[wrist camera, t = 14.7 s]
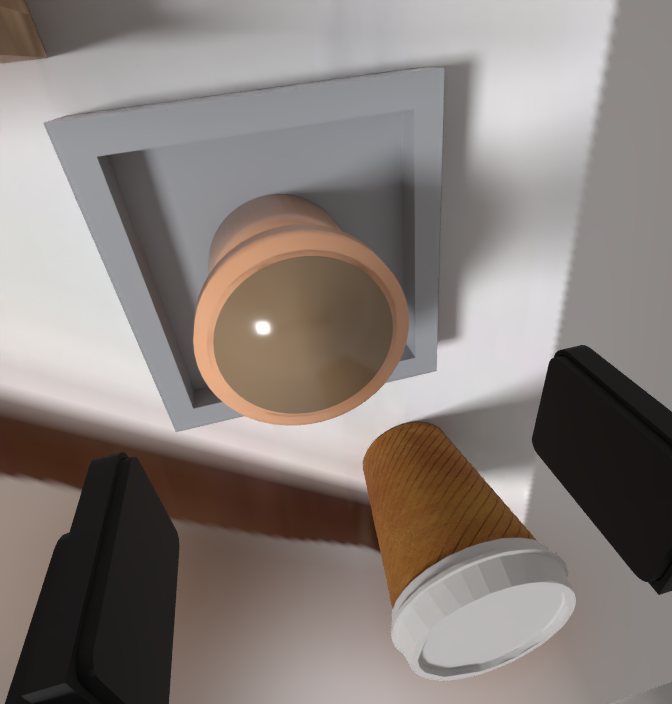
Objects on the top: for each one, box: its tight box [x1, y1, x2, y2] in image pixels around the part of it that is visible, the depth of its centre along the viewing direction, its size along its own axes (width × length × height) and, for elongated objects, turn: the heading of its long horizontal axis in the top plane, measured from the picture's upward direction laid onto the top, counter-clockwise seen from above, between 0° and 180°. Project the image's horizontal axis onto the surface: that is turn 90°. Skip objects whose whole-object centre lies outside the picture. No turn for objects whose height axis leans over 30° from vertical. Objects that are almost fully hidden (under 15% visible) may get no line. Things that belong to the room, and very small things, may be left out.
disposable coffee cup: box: [363, 422, 576, 681], centre depth 26 cm, size 10×10×12 cm
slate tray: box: [44, 68, 445, 432], centre depth 20 cm, size 14×14×2 cm
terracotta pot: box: [193, 194, 409, 425], centre depth 17 cm, size 7×7×7 cm
